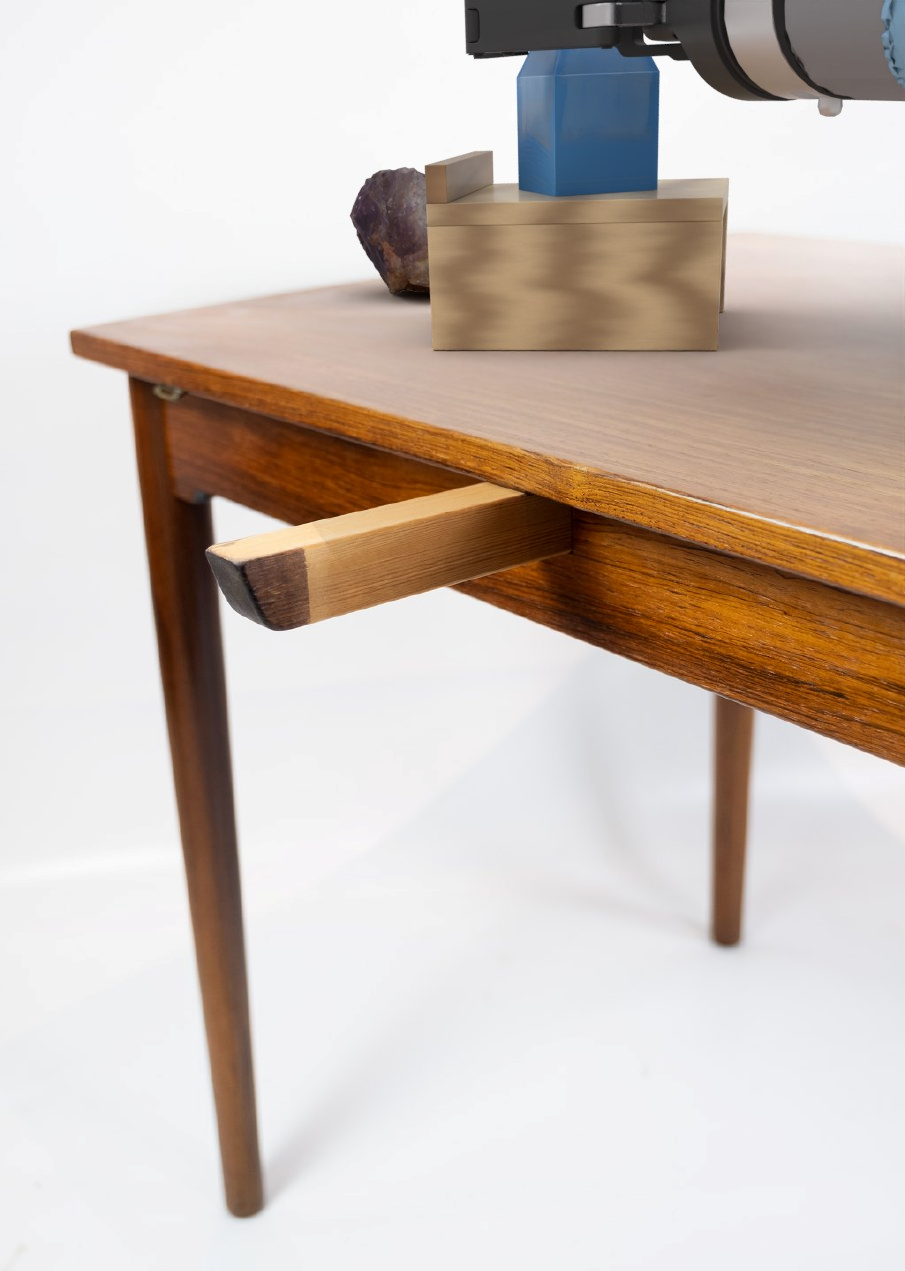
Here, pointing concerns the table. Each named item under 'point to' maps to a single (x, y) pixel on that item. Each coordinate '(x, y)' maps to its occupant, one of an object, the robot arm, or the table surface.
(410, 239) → the rock
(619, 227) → the wooden box with backstop
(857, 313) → the table surface
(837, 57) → the robot arm
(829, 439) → the table surface
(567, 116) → the perfume bottle
